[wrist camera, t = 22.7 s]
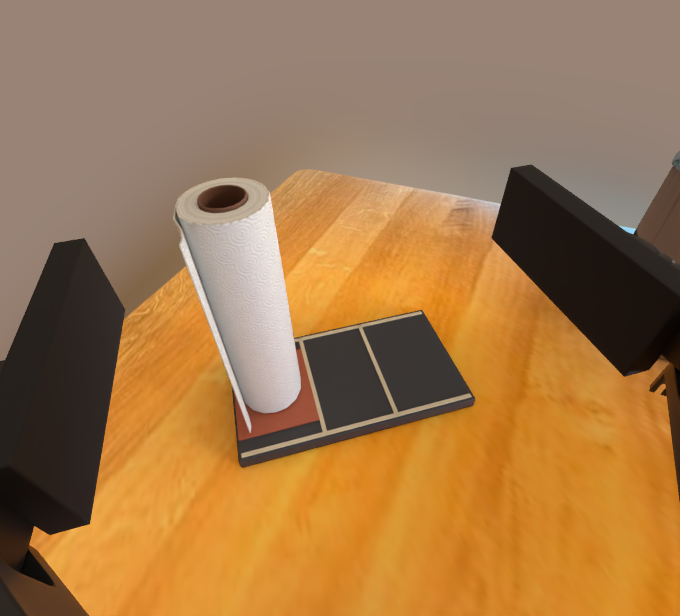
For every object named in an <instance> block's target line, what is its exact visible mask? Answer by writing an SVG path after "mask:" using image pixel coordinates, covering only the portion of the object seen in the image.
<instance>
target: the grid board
mask: <svg viewBox="0 0 680 616" xmlns="http://www.w3.org/2000/svg"><path fill="white" fill-rule="evenodd" d="M294 341H295V347H296V353H297V359H298V365H299V371H300V377H301V390H300V392H299V394H298V396H297V398H296V400H295V401H294V402H293V403H292V404H291V405H290V406H289V407H287V408H285V409H283V410H281V411H278V412H275V413H261V412H258V411H254V410H252V409H251V408H250V407H249V406H248V405H246V404H245V403H244V404H245V407H246V409H247V412H248V415H249V418H250V423H251V433H250V432H249V430H248V427H247V424H246V422H245V419H244V416H243V414H242V411H241V408H240V406H239V403H238V400H237V398H236V395H235V393H234V390H233V387H232V393H233V404H234V414H235V425H236V436H237V447H238V458H239V463H240V465H241V467H246V466H250V465H253V464H257V463H261V462H265V461H268V460H272V459H276V458H279V457H283V456H287V455H291V454H294V453H298V452H302V451H305V450H309V449H313V448H317V447H320V446H324V445H328V444H331V443H335V442H339V441H343V440H346V439H350V438H354V437H357V436H361V435H365V434H368V433H372V432H376V431H380V430H383V429H387V428H391V427H394V426H398V425H402V424H406V423H409V422H413V421H417V420H420V419H424V418H428V417H432V416H435V415H439V414H443V413H446V412H450V411H454V410H458V409H461V408H465V407H469V406H472V405H473V404H474V401H475V397H474V396H473V394H472V392H471V391H470V389H469V387H468V386H467V384H466V382H465V381H464V379H463V377H462V376H461V374H460V372H459V371H458V369H457V367H456V366H455V364H454V362H453V361H452V359H451V357H450V356H449V354H448V352H447V351H446V349H445V347H444V346H443V344H442V342H441V341H440V339H439V337H438V336H437V334H436V332H435V331H434V329H433V327H432V326H431V324H430V322H429V321H428V319H427V317H426V316H425V314H424V312H423V311H422V310H419V311H414V312H410V313H405V314H401V315H396V316H392V317H387V318H383V319H378V320H374V321H369V322H365V323H360V324H356V325H351V326H347V327H342V328H338V329H333V330H329V331H324V332H319V333H315V334H310V335H306V336H301V337H297V338H294ZM243 401H244V400H243Z"/></svg>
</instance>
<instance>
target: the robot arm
mask: <svg viewBox="0 0 680 616" xmlns="http://www.w3.org/2000/svg"><path fill="white" fill-rule="evenodd" d="M672 165H673V167H672V168H671V170H670V172H669V174H668V175H667V177H666V179H665V180H664V182H663V184H662V186H661V187H660V189H659V191H658V193H657V194H656V196H655V198H654V199H653V201H652V203H651V204H650V206H649V208H648V210H647V211H646V213H645V215H644V216H643V218H642V220H641V221H640V223H639V225H638V227H637V229H636V230H635V232H634V234H631V233H628V232H626V231H625V230H623V229H622V228H620V227H619V226H618V225H616V224H614V223H613V222H612V221H610V220H609V219H608V218H606V217H605V216H603V215H602V214H601V213H599V212H597V211H596V210H595V209H594V208H592V207H591V206H589V205H588V204H586V203H585V202H584V201H582V200H581V199H579V198H578V197H577V196H575V195H574V194H572V193H571V192H569V191H568V190H567V189H565V188H564V187H562V186H561V185H560V184H558V183H557V182H555V181H554V180H552V179H551V178H550V177H548V176H547V175H546V174H544V173H543V172H541V171H540V170H539V169H537V168H536V167H534V166H533V165H526V166H521V167H514V168H511V170H510V174H509V177H508V181H507V184H506V188H505V192H504V195H503V199H502V202H501V206H500V210H499V213H498V217H497V220H496V224H495V228H494V231H493V235H492V239H493V240H494V241H495V242H496V243H497V244H498V245H499V246H500V247H501V248H502V249H503V250H504V252H505V253H506V254H507V255H508V256H509V257H510V258H511V259H512V260H513V261H514V262H515V263H516V264H517V265H518V266H519V267H520V268H521V269H522V270H523V271H524V272H525V273H526V275H527V276H528V277H529V278H530V279H531V280H532V281H533V282H534V283H535V284H536V285H537V286H538V287H539V288H540V289H541V290H542V291H543V292H544V293H545V294H546V295H547V296H548V298H549V299H550V300H551V301H552V302H553V303H554V304H555V305H556V306H557V307H558V308H559V309H560V310H561V311H562V312H563V313H564V314H565V315H566V316H567V317H568V318H569V319H570V321H571V322H572V323H573V324H574V325H575V326H576V327H577V328H578V329H579V330H580V331H581V332H582V333H583V334H584V335H585V336H586V337H587V338H588V339H589V340H590V341H591V342H592V344H593V345H594V346H595V347H596V348H597V349H598V350H599V351H600V352H601V353H602V354H603V355H604V356H605V357H606V358H607V359H608V360H609V361H610V362H611V363H612V364H613V365H614V367H615V368H616V369H617V370H618V371H619V372H620V373H621V374H622V375H623V376H624V377H625V376H629V375H632V374H636V373H640V372H643V371H647V370H649V369H650V368H651V367H652V366H653V364H654V363H655V362H656V361H657V360H658V358H661V359H666V360H668V361H669V362H670V363H669V365H668V366H667V367H666V368H665V369H664V370H663V371H662V373H661V374H660V375H659V376H658V377H657V378H656V379H655V380H654V382H653V383H652V384H651V385H650V389H649V391H650V392H655V391H656V390H657V389H658V387H659V386H660V385H661V384H665V385H666V388H665V389H664V391H663V392H662V393H661V395H664V396H667V402H668V410H669V418H670V426H671V435H672V443H673V451H674V459H675V467H676V476H677V484H678V492H679V500H680V151H679V152H678V153H677V154H676V155H675V157H674V159H673V161H672ZM124 312H125V308H124V307H123V305H122V303H121V302H120V300H119V298H118V296H117V294H116V293H115V291H114V289H113V287H112V286H111V284H110V282H109V280H108V279H107V277H106V275H105V274H104V272H103V270H102V268H101V266H100V265H99V263H98V261H97V259H96V258H95V256H94V254H93V253H92V251H91V249H90V247H89V246H88V244H87V242H86V240H85V239H78V240H71V241H65V242H59V243H54V245H53V248H52V250H51V252H50V255H49V257H48V259H47V262H46V264H45V267H44V269H43V271H42V274H41V276H40V279H39V281H38V283H37V286H36V288H35V291H34V293H33V295H32V298H31V300H30V302H29V305H28V307H27V310H26V312H25V315H24V317H23V319H22V321H21V324H20V326H19V329H18V331H17V333H16V336H15V338H14V341H13V343H12V345H11V348H10V350H9V353H8V355H7V357H6V360H4V361H0V616H89V615H88V614H87V613H86V611H85V610H84V609H83V608H82V606H81V605H80V604H79V602H78V601H77V600H76V599H75V597H74V596H73V595H72V594H71V592H70V591H69V590H68V589H67V587H66V586H65V585H64V584H63V582H62V581H61V580H60V579H59V577H58V576H57V575H56V574H55V572H54V571H53V570H52V568H51V567H50V566H49V565H48V563H47V562H46V561H45V560H44V558H43V557H42V556H41V555H40V553H39V552H38V551H37V550H36V549H35V548H33V547H31V546H30V545H29V543H30V539H31V536H32V532H33V528H34V526H36V527H37V528H39V529H41V530H42V531H44V532H46V533H47V534H49V535H52V534H55V533H59V532H62V531H66V530H70V529H73V528H77V527H81V526H84V525H88V524H90V520H91V514H92V508H93V502H94V496H95V489H96V483H97V477H98V471H99V465H100V459H101V453H102V447H103V441H104V435H105V429H106V423H107V417H108V411H109V404H110V398H111V392H112V386H113V380H114V374H115V368H116V362H117V356H118V350H119V344H120V338H121V332H122V326H123V320H124Z"/></svg>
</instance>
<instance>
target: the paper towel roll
mask: <svg viewBox="0 0 680 616" xmlns="http://www.w3.org/2000/svg"><path fill="white" fill-rule="evenodd" d="M173 219H174V222H175V225H176V228H177V230H178V233H179V236H180V238H181V242H180V244H179V247H180V249H181V252H182V254H183V257H184V260H185V263H186V265H187V268H188V271H189V273H190V276H191V279H192V281H193V284H194V286H195V289H196V292H197V294H198V297H199V300H200V302H201V305H202V308H203V310H204V313H205V316H206V318H207V321H208V324H209V326H210V329H211V332H212V334H213V337H214V339H215V342H216V345H217V347H218V350H219V353H220V355H221V358H222V361H223V363H224V366H225V369H226V371H227V374H228V377H229V379H230V382H231V385H232V387H233V390H234V393H235V395H236V398H237V400H238V403H239V406H240V408H241V411H242V414H243V416H244V419H245V422H246V424H247V427H248V430H249V432H250V433H251V423H250V418H249V415H248V412H247V409H246V407H245V404H246V405H248V406H249V407H250V408H251V409H252V410H254V411H258V412H261V413H275V412H278V411H281V410H283V409H285V408H287V407H289V406H290V405H291V404H292V403H293V402H294V401H295V400H296V398H297V396H298V394H299V392H300V390H301V377H300V371H299V365H298V359H297V353H296V347H295V341H294V335H293V329H292V323H291V317H290V311H289V305H288V299H287V293H286V287H285V281H284V275H283V269H282V263H281V257H280V251H279V245H278V239H277V233H276V227H275V221H274V215H273V209H272V203H271V197H270V193H269V191H268V190H267V189H266V187H265V186H264V185H263V184H261V183H258V182H256V181H254V180H251V179H243V178H225V179H224V178H223V179H216V180H213V181H208V182H204V183H201V184H199V185H197V186H195V187H193V188H191V189H189V190H187V191H186V192H185V193H184V194H183V195H181V196H180V197H179V198H178V200H177V203H176V206H175V211H174V216H173ZM243 400H244V401H243ZM244 403H245V404H244Z"/></svg>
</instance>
